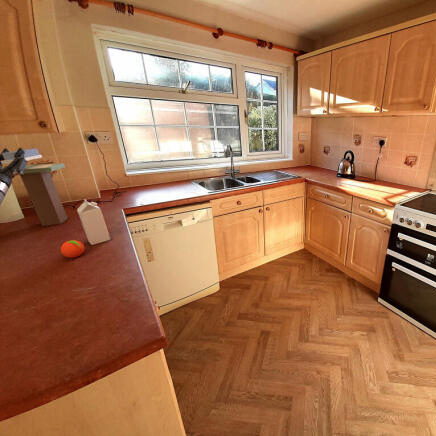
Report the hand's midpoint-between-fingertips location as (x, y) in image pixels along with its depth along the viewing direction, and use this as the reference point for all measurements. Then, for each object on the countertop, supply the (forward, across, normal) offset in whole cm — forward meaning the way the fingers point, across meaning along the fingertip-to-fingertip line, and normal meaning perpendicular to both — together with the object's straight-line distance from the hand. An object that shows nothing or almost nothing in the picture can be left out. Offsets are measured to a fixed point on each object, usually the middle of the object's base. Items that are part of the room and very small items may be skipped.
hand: (14, 150), depth 111 cm
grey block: (0, 0, -6) cm, 6 cm away
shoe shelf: (-12, 0, -37) cm, 39 cm away
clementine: (-56, +27, -12) cm, 63 cm away
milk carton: (-44, +31, -19) cm, 57 cm away
